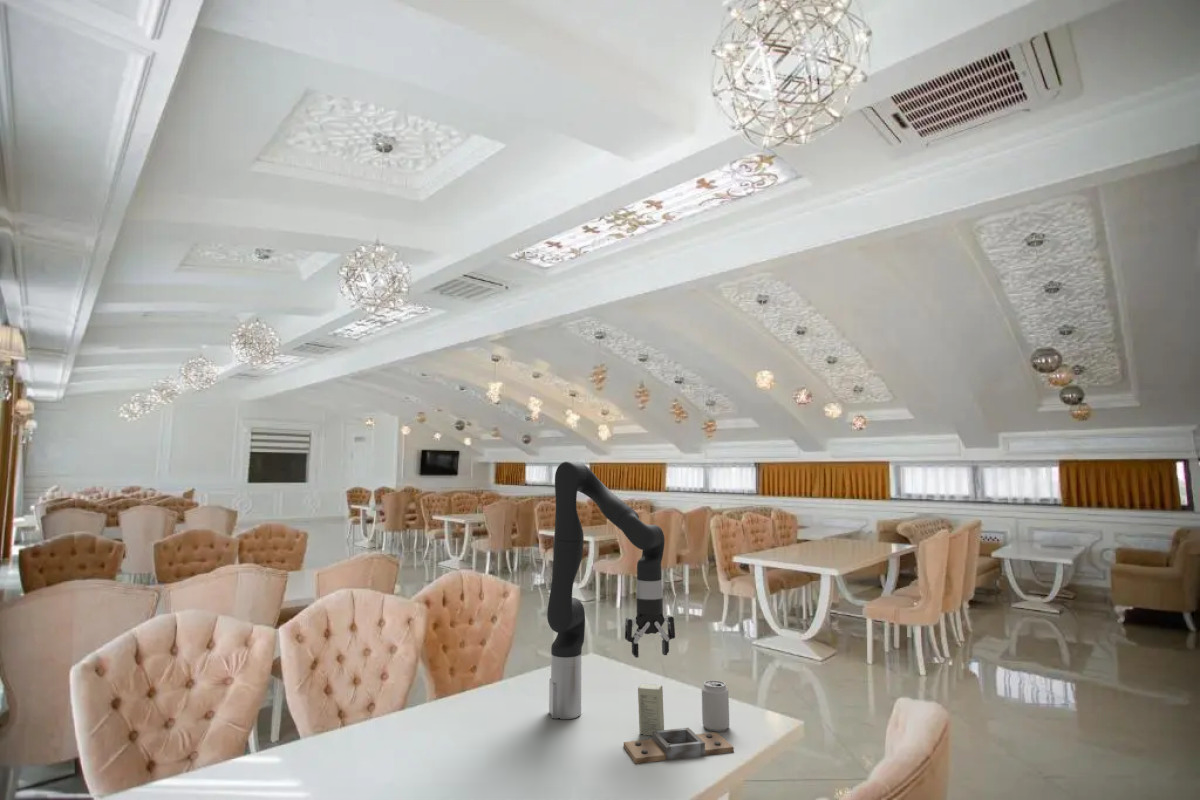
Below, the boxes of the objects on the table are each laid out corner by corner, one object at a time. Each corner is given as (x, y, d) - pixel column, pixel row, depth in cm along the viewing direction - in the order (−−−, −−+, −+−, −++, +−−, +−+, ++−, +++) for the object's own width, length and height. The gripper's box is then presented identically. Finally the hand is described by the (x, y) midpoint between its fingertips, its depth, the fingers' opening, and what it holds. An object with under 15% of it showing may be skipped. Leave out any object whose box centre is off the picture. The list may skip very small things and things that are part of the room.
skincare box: (664, 731, 165) (663, 684, 167) (660, 737, 161) (660, 689, 163) (642, 728, 168) (641, 682, 170) (638, 734, 164) (637, 687, 165)
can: (729, 733, 164) (728, 687, 166) (702, 731, 165) (701, 685, 167) (729, 723, 171) (728, 679, 173) (703, 721, 173) (701, 677, 175)
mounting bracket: (635, 764, 146) (635, 750, 146) (623, 746, 155) (623, 734, 156) (734, 752, 152) (733, 739, 153) (716, 736, 162) (715, 724, 163)
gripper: (668, 592, 176) (669, 650, 173) (621, 595, 172) (622, 654, 169) (677, 597, 169) (679, 657, 166) (629, 599, 165) (630, 661, 162)
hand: (650, 655), depth 168 cm, fingers open, 8 cm apart
